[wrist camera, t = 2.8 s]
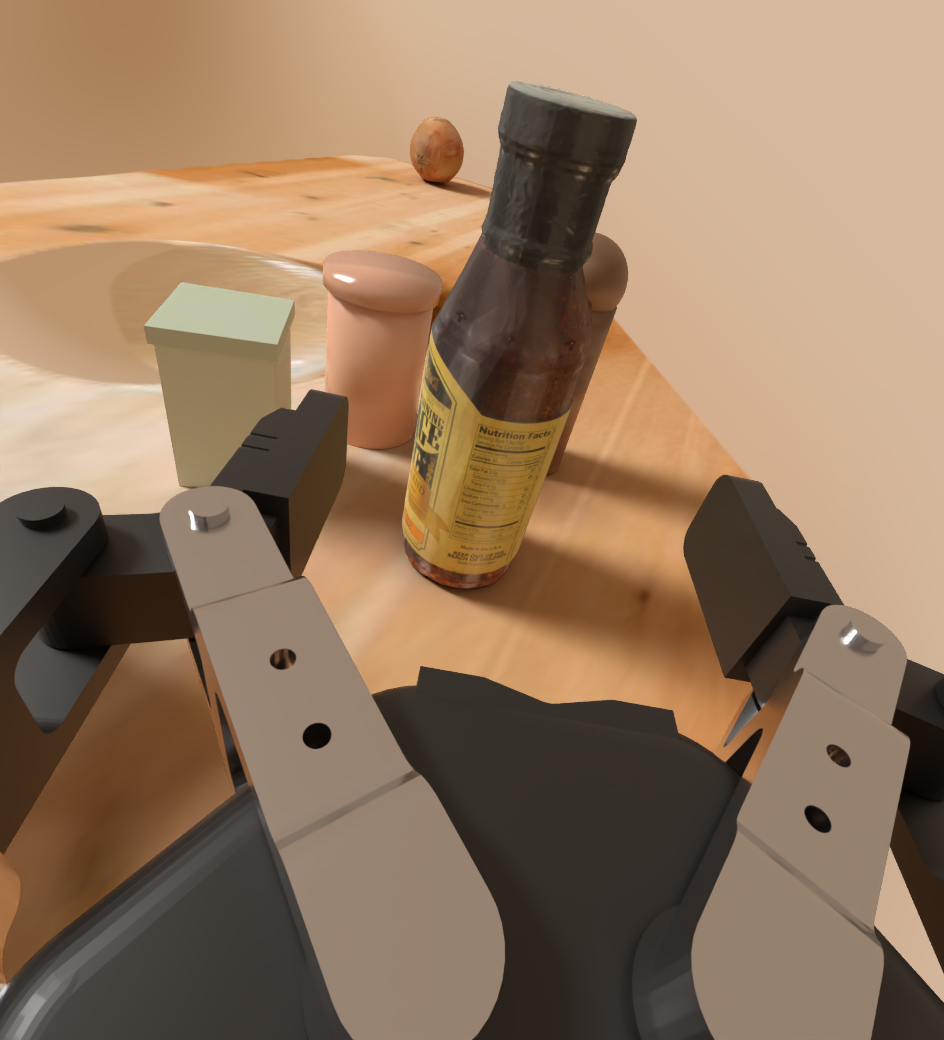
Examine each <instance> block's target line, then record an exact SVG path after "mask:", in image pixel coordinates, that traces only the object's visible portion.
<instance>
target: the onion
mask: <svg viewBox="0 0 944 1040" xmlns="http://www.w3.org/2000/svg"><path fill="white" fill-rule="evenodd" d="M463 155H464V150H463V144H462V140H461V138H460V135H459V133H458V131H457V130H456V128H455V127H454V126H453V125H452V124H451V123H450V122H449V121H448V120H446V119H444V118H439V117H431V118H428V119H426V120H424V121H423V122H422V123H421V124H420V126H419V127H418V128H417V130H416V132H415V133H414V135H413V138H412V140H411V145H410V157H411V161H412V164H413V166H414V167H415V169H416V171H417V172H418V173H419V175H420V176H421V177H422V178H423V179H425V180H426V181H431V182H449V181H450V180H451V179H452V178H453V177H454V176H455V175H456V174H457V173H458V171H459V170H460V167H461V165H462V162H463Z"/></svg>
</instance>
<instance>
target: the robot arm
mask: <svg viewBox="0 0 944 1040" xmlns="http://www.w3.org/2000/svg"><path fill="white" fill-rule="evenodd" d="M348 413H349V402H348V397H347V396H342V395H337V394H332V393H327V392H322V391H317V390H312V389H311V390H310V391H309V392H308V393H307V395H306V396H305V398H304V399H303V401H302V402H301V404H300V405H299V406H298V408H297V409H296V411H295V410H290V409H285V408H279V409H278V410H276V411H274V412H272V413H270V414H268V415H266V416H264V417H262V418H261V419H260V420H259V422H258V423H257V424H256V426H255V427H254V428H253V430H252V431H251V432H250V435H248V436H247V437H246V439H245V440H244V441H243V443H242V444H241V447H239V448H238V449H237V451H236V452H235V453H234V455H233V456H232V457H231V459H230V460H229V461H228V462H227V464H226V465H225V466H224V468H223V469H222V470H221V472H220V473H219V474H218V476H217V477H216V478H215V480H214V481H213V482H212V484H211V485H210V486H206V487H199V488H194V489H190V490H187V491H185V492H182V493H180V494H178V495H176V496H175V497H173V498H172V499H170V500H169V501H168V502H167V503H166V504H165V505H164V507H163V508H162V510H161V512H160V513H153V514H130V515H102V513H101V510H100V506H99V503H98V502H97V500H96V499H95V498H94V497H93V496H92V495H90V494H88V493H86V492H84V491H81V490H78V489H74V488H66V487H48V488H40V489H34V490H30V491H26V492H23V493H20V494H17V495H14V496H12V497H10V498H8V499H6V500H4V501H2V502H1V503H0V1040H944V1002H943V1001H942V1000H940V998H939V997H938V996H937V995H936V994H935V993H934V991H933V990H932V989H931V988H930V987H929V986H928V985H927V984H926V982H925V981H924V980H923V979H922V978H921V977H920V976H919V975H918V974H917V973H916V971H915V970H914V969H913V968H912V967H911V966H910V965H909V964H908V962H906V960H905V959H904V958H903V957H902V956H901V955H900V954H899V953H898V951H897V950H896V949H895V948H894V947H893V946H892V945H891V944H890V942H889V941H888V940H887V939H886V938H885V937H884V936H883V935H882V934H881V932H880V931H879V930H878V929H877V928H876V927H875V926H874V919H875V914H876V909H877V904H878V899H879V894H880V890H881V885H882V880H883V875H884V870H885V865H886V860H887V856H888V851H889V846H890V848H891V850H892V852H893V855H894V857H895V860H896V862H897V864H898V867H899V869H900V871H901V874H902V876H903V878H904V881H905V883H906V885H907V888H908V890H909V893H910V895H911V897H912V900H913V902H914V904H915V907H916V909H917V911H918V914H919V916H920V919H921V921H922V923H923V926H924V928H925V930H926V933H927V935H928V937H929V940H930V942H931V945H932V947H933V949H934V951H935V954H936V956H937V958H938V961H939V963H940V966H941V968H942V971H943V973H944V674H942V673H939V672H937V671H935V670H932V669H930V668H927V667H925V666H923V665H920V664H918V663H915V662H913V661H911V660H908V659H907V656H906V652H905V650H904V647H903V646H902V644H901V642H900V641H899V640H898V639H897V637H896V636H895V635H894V634H893V633H892V632H891V631H890V630H889V629H888V628H887V627H886V626H884V625H883V624H882V623H880V622H879V621H878V620H876V619H875V618H873V617H871V616H870V615H868V614H866V613H864V612H862V611H860V610H857V609H855V608H851V607H848V606H844V604H843V603H842V601H841V599H840V598H839V596H838V594H837V593H836V591H835V589H834V588H833V586H832V584H831V583H830V581H829V580H828V578H827V576H826V574H825V573H824V571H823V569H822V568H821V566H820V564H819V563H818V562H816V561H815V559H816V558H815V556H814V554H813V553H812V551H811V549H810V548H809V547H807V543H806V541H805V539H804V538H803V536H802V534H801V533H800V531H799V529H798V528H797V526H796V525H795V524H794V523H793V522H792V521H791V520H790V519H789V518H787V517H786V516H785V515H784V514H783V513H782V512H781V511H780V510H779V509H777V508H776V507H775V505H774V503H773V501H772V500H771V498H770V496H769V495H768V493H767V491H766V489H765V488H764V486H763V484H762V483H760V482H758V481H754V480H749V479H744V478H739V477H734V476H729V475H722V476H721V477H719V478H718V479H717V480H716V481H715V483H714V485H713V486H712V488H711V490H710V491H709V493H708V495H707V497H706V498H705V500H704V502H703V504H702V505H701V507H700V509H699V511H698V512H697V514H696V516H695V517H694V519H693V521H692V523H691V524H690V526H689V528H688V530H687V533H686V536H685V540H684V557H685V560H686V563H687V566H688V569H689V572H690V575H691V578H692V581H693V584H694V587H695V590H696V593H697V596H698V599H699V602H700V605H701V608H702V611H703V614H704V617H705V620H706V623H707V626H708V629H709V632H710V635H711V638H712V641H713V644H714V647H715V650H716V653H717V656H718V659H719V662H720V666H721V669H722V672H723V675H724V677H725V678H730V679H736V680H741V681H747V682H751V684H752V687H753V689H752V690H751V691H750V692H749V693H748V695H747V696H746V697H745V698H744V699H743V701H742V703H741V705H740V707H739V708H738V710H737V712H736V714H735V716H734V717H733V719H732V721H731V723H730V725H729V726H728V728H727V730H726V732H725V734H724V735H723V737H722V739H721V741H720V743H719V744H718V746H717V748H716V750H715V752H714V753H712V752H711V751H709V750H708V749H706V748H705V747H703V746H702V745H700V744H699V743H697V742H695V741H693V740H691V739H689V738H687V737H686V736H684V735H682V734H680V733H678V730H677V726H676V722H675V717H674V713H673V710H667V709H661V708H656V707H650V706H644V705H639V704H633V703H627V702H622V701H616V700H603V701H589V702H575V703H560V704H550V703H546V702H543V701H540V700H538V699H535V698H533V697H530V696H528V695H526V694H523V693H521V692H518V691H516V690H513V689H511V688H509V687H506V686H504V685H501V684H499V683H497V682H494V681H492V680H489V679H487V678H485V677H480V676H474V675H468V674H463V673H457V672H451V671H446V670H440V669H434V668H428V667H423V666H421V667H420V671H419V676H418V681H417V685H416V686H403V687H398V688H393V689H388V690H385V691H381V692H378V693H375V694H372V695H371V694H370V692H369V690H368V688H367V686H366V684H365V682H364V681H363V679H362V677H361V675H360V673H359V671H358V669H357V668H356V666H355V664H354V662H353V660H352V658H351V656H350V655H349V653H348V651H347V649H346V647H345V645H344V643H343V642H342V640H341V638H340V636H339V634H338V632H337V630H336V629H335V627H334V625H333V623H332V621H331V619H330V617H329V616H328V614H327V612H326V610H325V608H324V606H323V604H322V603H321V601H320V599H319V597H318V595H317V593H316V591H315V590H314V588H313V586H312V584H311V583H310V581H309V580H308V579H307V578H306V577H304V576H301V575H302V573H303V571H304V568H305V566H306V564H307V562H308V559H309V557H310V555H311V553H312V550H313V548H314V546H315V544H316V541H317V539H318V537H319V535H320V532H321V530H322V528H323V525H324V523H325V521H326V519H327V516H328V514H329V512H330V510H331V507H332V505H333V503H334V501H335V498H336V496H337V494H338V492H339V489H340V487H341V484H342V480H343V476H344V471H345V465H346V452H347V432H348ZM185 638H186V640H187V643H188V646H189V649H190V652H191V655H192V659H193V662H194V665H195V668H196V671H197V674H198V677H199V681H200V684H201V687H202V690H203V693H204V696H205V699H206V703H207V706H208V709H209V712H210V715H211V718H212V722H213V725H214V728H215V732H216V736H217V740H218V743H219V747H220V751H221V755H222V758H223V762H224V765H225V768H226V772H227V775H228V778H229V781H230V785H231V788H232V791H233V794H234V795H233V796H232V797H230V798H229V799H228V800H226V801H225V802H224V803H223V804H221V805H220V806H219V807H218V808H216V809H215V810H214V811H213V812H211V813H210V814H209V815H207V816H206V817H205V818H204V819H202V820H201V821H200V822H199V823H197V824H196V825H195V826H194V827H192V828H191V829H190V830H189V831H187V832H186V833H185V834H183V835H182V836H181V837H180V838H178V839H177V840H176V841H175V842H173V843H172V844H171V845H170V846H168V847H167V848H166V849H164V850H163V851H162V852H161V853H159V854H158V855H157V856H156V857H154V858H153V859H152V860H151V861H149V862H148V863H147V864H145V865H144V866H143V867H142V868H140V869H139V870H138V871H137V872H135V873H134V874H133V875H132V876H130V877H129V878H128V879H126V880H125V881H124V882H123V883H121V884H120V885H119V886H118V887H116V888H115V889H114V890H113V891H111V892H110V893H109V894H107V895H106V896H105V897H104V898H102V899H101V900H100V901H99V902H97V903H96V904H95V905H94V906H92V907H91V908H90V909H88V910H87V911H86V912H85V913H83V914H82V915H81V916H80V917H78V918H77V919H76V920H75V921H73V922H72V923H71V924H69V925H68V926H67V927H66V928H64V929H63V930H62V931H61V932H59V933H58V934H57V935H56V936H55V937H53V938H52V939H51V940H50V941H49V942H47V943H46V944H45V945H44V946H43V947H42V948H41V949H40V950H39V951H38V952H37V953H36V954H35V955H34V956H33V957H32V958H31V959H30V960H29V961H28V962H27V963H26V964H25V965H24V966H23V967H22V968H21V969H20V970H19V971H18V972H17V973H16V975H15V976H14V977H13V978H12V979H11V980H10V982H9V983H8V984H7V983H6V980H5V977H4V973H3V965H2V960H3V949H4V945H5V941H6V936H7V934H8V931H9V929H10V926H11V924H12V921H13V919H14V916H15V914H16V912H17V908H18V904H19V900H20V890H21V886H20V879H19V876H18V873H17V871H16V869H15V868H14V866H13V865H12V864H11V862H10V861H9V860H8V859H7V858H6V857H5V856H4V855H3V854H4V853H5V851H6V849H7V848H8V846H9V844H10V843H11V841H12V839H13V838H14V836H15V834H16V833H17V831H18V829H19V828H20V826H21V824H22V823H23V821H24V819H25V818H26V816H27V815H28V813H29V811H30V810H31V808H32V806H33V805H34V803H35V801H36V800H37V798H38V796H39V795H40V793H41V791H42V790H43V788H44V786H45V785H46V783H47V781H48V780H49V778H50V776H51V775H52V773H53V771H54V770H55V768H56V766H57V765H58V763H59V761H60V760H61V758H62V756H63V755H64V753H65V752H66V750H67V748H68V747H69V745H70V743H71V742H72V740H73V738H74V737H75V735H76V733H77V732H78V730H79V728H80V727H81V725H82V723H83V722H84V720H85V718H86V717H87V715H88V713H89V712H90V710H91V708H92V707H93V705H94V703H95V702H96V700H97V698H98V697H99V695H100V693H101V692H102V690H103V689H104V687H105V685H106V684H107V682H108V680H109V679H110V677H111V675H112V674H113V672H114V670H115V669H116V667H117V665H118V664H119V662H120V660H121V659H122V657H123V655H124V654H125V652H126V650H127V649H128V647H129V645H130V644H132V643H143V642H153V641H164V640H175V639H185Z"/></svg>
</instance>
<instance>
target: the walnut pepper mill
mask: <svg viewBox="0 0 944 1040" xmlns="http://www.w3.org/2000/svg"><path fill="white" fill-rule="evenodd" d="M592 243H593V250H592V254H591V256H590V258H589V260H588V261H587V262H586V263H585V264H584V265H583V273H584V277H585V284H586V295H587V296H588V299H589V301H591V302H592V325H593V333H592V339H591V346H590V349H589V353H588V356H587V359H586V361H585V362H584V365H583V368H582V370H581V373H580V376H579V379H578V381H577V384H576V387H575V391H574V393H573V396H572V400H573V403H572V406H571V409H570V412H569V415H568V418H567V420H566V423H565V426H564V428H563V431H562V434H561V437H560V439H559V442H558V445H557V447H556V450H555V453H554V456H553V458H552V461H551V464H550V466H549V469H548V472H547V474H546V476H547V475H551V474H553V473H554V472H556V470H557V469H558V467H559V464H560V462H561V459H562V456H563V453H564V451H565V448H566V445H567V443H568V440H569V437H570V434H571V432H572V429H573V426H574V423H575V421H576V418H577V415H578V413H579V410H580V407H581V404H582V402H583V399H584V396H585V394H586V391H587V388H588V385H589V383H590V380H591V377H592V374H593V372H594V369H595V366H596V364H597V361H598V358H599V355H600V353H601V350H602V347H603V345H604V342H605V339H606V336H607V334H608V331H609V328H610V325H611V323H612V320H613V317H614V314H615V312H616V309H617V305H618V303H619V302H620V300H621V299H622V297H623V295H624V293H625V290H626V286H627V281H628V267H627V263H626V259H625V257H624V254H623V252H622V250H621V249H620V248H619V246H618V245H617V244H616V243H615V242H614V241H613V240H611V239H609V238H608V237H607V236H604V235H602V234H599V233H595V234H594V237H593V240H592Z"/></svg>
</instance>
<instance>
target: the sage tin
mask: <svg viewBox="0 0 944 1040" xmlns="http://www.w3.org/2000/svg"><path fill="white" fill-rule="evenodd" d="M294 315H295V312H294V300H290V299H284V298H278V297H271V296H265V295H259V294H252V293H246V292H240V291H233V290H227V289H221V288H214V287H208V286H202V285H196V284H189V283H183V282H181V283H180V284H179V286H178V287H177V288H176V289H175V290H174V291H173V293H172V294H171V295H170V296H169V297H168V298H167V300H166V301H165V302H164V303H163V304H162V305H161V307H160V308H159V309H158V310H157V311H156V312H155V314H154V315H153V316H152V317H151V318H150V319H149V321H148V322H147V323H146V324H145V325H144V328H145V333H146V339H147V344H154V346H155V351H156V357H157V362H158V368H159V374H160V379H161V385H162V391H163V396H164V402H165V407H166V413H167V419H168V424H169V430H170V436H171V441H172V447H173V452H174V458H175V464H176V469H177V475H178V481H179V486H186V487H198V488H199V487H206V486H210V485H211V484H212V482H213V481H214V480H215V478H216V477H217V476H218V474H219V473H220V472H221V470H222V469H223V468H224V466H225V465H226V464H227V462H228V461H229V460H230V459H231V457H232V456H233V455H234V453H235V452H236V451H237V449H238V448H239V447H241V444H242V443H243V441H244V440H245V439H246V437H247V436H248V435H250V432H251V431H252V430H253V428H254V427H255V426H256V424H257V423H258V422H259V420H260V419H261V418H262V417H264V416H266V415H268V414H270V413H272V412H274V411H276V410H278V409H279V408H285V409H290V410H291V356H290V326H291V324H292V321H293V318H294Z"/></svg>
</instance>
